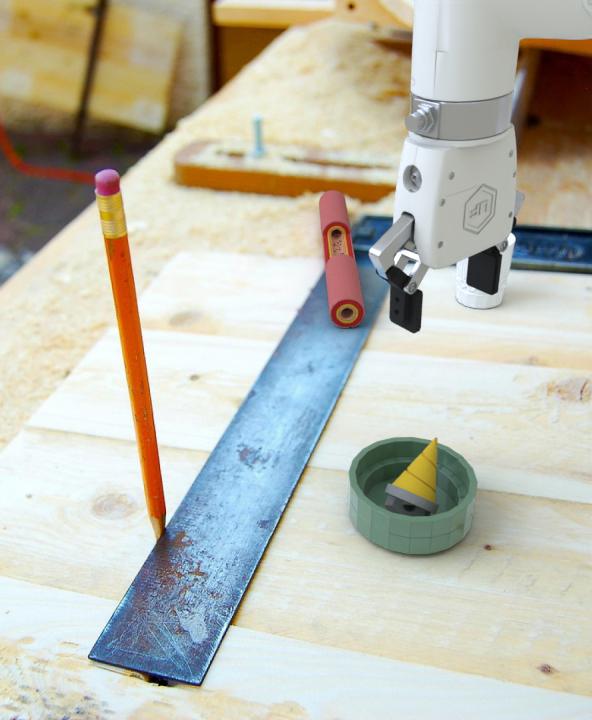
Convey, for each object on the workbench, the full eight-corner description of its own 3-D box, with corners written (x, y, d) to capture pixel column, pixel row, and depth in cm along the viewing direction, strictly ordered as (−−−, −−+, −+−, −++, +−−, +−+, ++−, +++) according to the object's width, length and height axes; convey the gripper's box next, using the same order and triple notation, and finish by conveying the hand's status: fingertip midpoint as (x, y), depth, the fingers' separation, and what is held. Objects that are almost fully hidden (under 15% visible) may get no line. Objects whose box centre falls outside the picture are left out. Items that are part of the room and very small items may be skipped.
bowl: (409, 457, 86) (412, 422, 83) (498, 520, 77) (504, 483, 74) (323, 504, 81) (323, 469, 78) (408, 578, 72) (411, 541, 69)
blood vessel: (364, 328, 110) (365, 297, 107) (329, 329, 110) (329, 298, 107) (345, 214, 145) (345, 189, 142) (318, 215, 145) (318, 190, 142)
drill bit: (368, 514, 79) (405, 426, 80) (414, 535, 79) (451, 446, 80) (381, 522, 74) (421, 427, 74) (431, 544, 74) (470, 449, 75)
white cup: (472, 281, 120) (479, 221, 114) (517, 297, 114) (527, 236, 109) (440, 298, 116) (446, 237, 110) (485, 317, 110) (494, 253, 105)
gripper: (414, 152, 52) (404, 360, 62) (573, 97, 60) (542, 290, 69) (341, 130, 58) (342, 325, 67) (495, 82, 65) (477, 263, 75)
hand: (444, 307), depth 68 cm, fingers open, 9 cm apart
